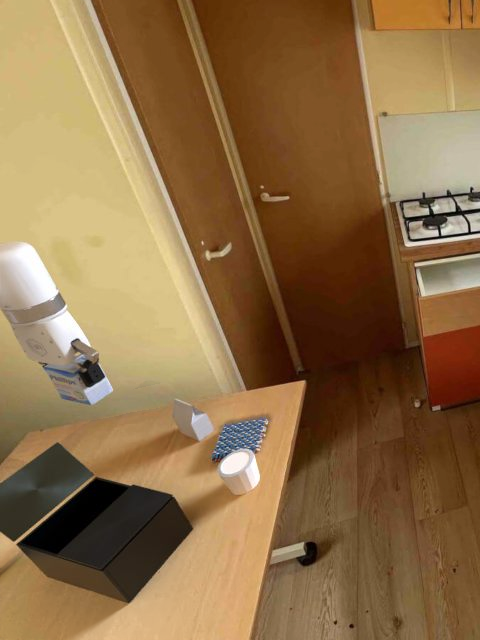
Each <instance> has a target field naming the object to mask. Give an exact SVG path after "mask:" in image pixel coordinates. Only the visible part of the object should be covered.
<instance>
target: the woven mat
mask: <svg viewBox="0 0 480 640" xmlns="http://www.w3.org/2000/svg"><path fill="white" fill-rule="evenodd" d="M268 425H269V420H268V419H267V417H265V416H264V417H260V418H257V419H256V418H253V419H250V420H248V419H247V420H245V421H244V420H243V421H239V422H232V423H229V424H227V423H225V424H224V427H221V431H220V434H218V439H217V442H216V445H215V446H214V450H213V452H212V453H211V458H210V462H213V463H214V462H221V460H223V459H224V458H225V457H226V456H227V455H228V454H230V453H232V452H233V451H236V450H239V449H249V450H252V452H253V453H254V455H255V454H257V453H259V452H260V451H261V447H262V446H261V444H262V443H263V438H265V437H266V434H265V433H266V431H267V426H268Z"/></svg>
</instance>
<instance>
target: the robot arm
mask: <svg viewBox="0 0 480 640" xmlns="http://www.w3.org/2000/svg"><path fill="white" fill-rule="evenodd" d="M67 308H68V304H67V303H66V301H65V300H64V297H63V296H62V294H61V292H60V291H59V289H58V287H57V285H56V284H55V282H54V280H53V278H52V277H51V275H50V273H49V272H48V270H47V268H46V266H45V264H44V263H43V261H42V259H41V257H40V255H39V253H38V252H37V250H36V249H35V247H34V246H33V245H31V244H29V243H28V242H25V241H8V242H7V241H6V242H1V243H0V311H1V313H2V314H3V316H4V317H5V319H6V320H7V321H8V323H9V325H10V328H11V330H12V332H13V334H14V336H15V338H16V340H17V342H18V344H19V345H20V348H21V349H22V351H23V352H24V354H25V356H26V357H27V358H28V359H29V360H31V361H34V362H37V363H38V364H39V365H41V366H42V368H43V367H44V366H46V365H47V364H53V365H60V366H67V365H69V364H70V363H72V364H73V365H74V366H75V367H76V368H77V369H78V370H80V372H78V374H79V375H80V377H81V379H82V380H83V382H84V384H85V385H86V387H89V388H90V387H92V386H94V385H95V384H97V383H98V382H100V381H101V380H103V379H104V378H105V375H106V374H105V372H104V370H103V368H102V367H101V368H102V369H101V368H100V366H101V365H100V366H99V364H100V358H99V355H100V352H99V351H98V350H96V349H95V348H93V347H92V346H91V344H90V341H89V340H88V338H87V336H86V335H85V333H84V332H83V329H82V328H81V327H80V325H79V324H78V323H77V321H76V319H74V317H73V316H72V315H71V314H70V312H69V311H68V310H67ZM77 353H79V354H78V355H76V354H77ZM75 356H77V357H75ZM82 357H84V358H86V359H87V360H86V361H85V362H84V363H83V365H82V364H81V363H80V362H79V361H78V360H79V359H80V358H82ZM98 363H99V364H98ZM102 370H103V371H102ZM103 372H104V373H103ZM104 374H105V375H104Z"/></svg>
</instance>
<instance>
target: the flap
mask: <svg viewBox="0 0 480 640" xmlns="http://www.w3.org/2000/svg"><path fill="white" fill-rule="evenodd" d="M93 476H95V473H93V472H92V471H91V469H89V468H88V467H87V466H86V465H85V464H83V462H82V461H80V460H79V459H78V458H77V457H76V456H75V455H74V454H72V453H71V452H70V451H69V450H68V449H67V448H66V447H64V445H63V444H61V443H60V442H59V441H56V442H55V443H53V444H52V445H51V446H50V447H48V448H47V449H45V450H44V451H42V452H41V453H40V454H38V455H36V457H34V458H33V459H31V460H30V461H29V462H27V463H26V464H25V465H23V466H22V467H20V468H19V469H18V470H17V471H15V472H14V473H12V474H10V475H9V476H8V477H6V478H5V479H4V480H3V481H1V482H0V533H1V534H2V535H3V536H5V537H6V538H8V539H9V540H10V541H11V542H13V543H14V542H16V541H17V540H19V538H21V537H22V536H24V534H26V533H27V532H28V531H30V529H31V528H33V527H34V526H35V525H36V524H38V523H39V522H40V521H41V520H42V519H44V518H45V517H46V516H47V515H48V514H50V512H52V511H53V510H54V509H56V508H57V507H58V506H59V505H60V504H61V503H63V502H64V501H65V500H66V499H67V498H69V497H70V496H71V495H72V494H74V493H75V492H76V491H77V490H78V489H79V488H81V487H82V486H83V485H84V484H85V483H86V482H88V481H89V480H90V479H91V478H93Z"/></svg>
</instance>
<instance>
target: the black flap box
mask: <svg viewBox="0 0 480 640" xmlns="http://www.w3.org/2000/svg"><path fill="white" fill-rule="evenodd" d="M193 531H194V527H193V525H192V524H191V522H190V520H189V518H188V517H187V516H186V514H185V512H184V511H183V508H182V507H181V506H180V503H179V502H178V501H177V499H176V497H175V496H174V495H173V494H172V493H168V492H165V491H160V490H157V489H153V488H150V487H145V486H141V485H136V484H131V485H130V484H126V483H122V482H120V481H119V482H118V481H115V480H111V479H106V478H103V477H99V476H95V477H94V478H92V480H90V481H89V482H88V483H87V484H85V486H83V487H82V488H81V489H80V490H78V492H76V493H75V494H74V495H73V496H71V498H69V499H68V500H67V501H65V502H64V503H63V504H62V505H61V506H59V508H57V509H56V510H54V512H52V513H51V514H50V515H49V516H47V518H46V519H44V520H43V521H42V522H40V523H39V525H37V526H36V527H35V528H34V529H33V530H31V531H30V532H29V533H27V534H26V535H25V536H24V537H23V538H21V540H20V541H18V542H17V543H16V544H15V545H16V546H17V547H18V548H19V550H21V552H22V553H23V554H24V555H25V556H26V557H27V558H28V559H29V560H30V561H31V562H32V563H33V564H34V565H35V566H36V567H37V568H38V569H39V571H40V572H42V573H43V574H44V576H45V577H47V578H49V579H53V580H56V581H58V582H62V583H65V584H68V585H71V586H74V587H77V588H81V589H83V590H87V591H90V592H92V593H96V594H98V595H102V596H105V597H108V598H111V599H113V600H118V601H120V602H123V603H127V604H131V602H133V600H134V599H135V598H136V597H137V595H138V594H139V593H140V592H141V591H142V590H143V588H145V586H146V585H147V584H148V583H149V582H150V581H151V579H152V578H153V577H154V576H155V575H156V574H157V572H158V571H160V569H161V568H162V566H163V565H165V563H166V562H167V561H168V560H169V558H170V557H171V556H172V555H173V554H174V552H176V550H177V549H179V547H180V545H181V544H182V543H183V542H184V541H185V540H186V538H188V537H189V535H190V534H191V533H192V532H193Z"/></svg>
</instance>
